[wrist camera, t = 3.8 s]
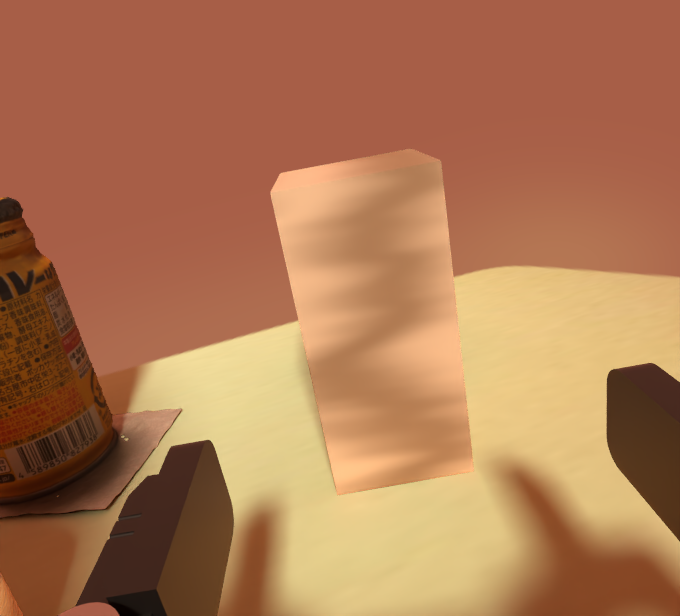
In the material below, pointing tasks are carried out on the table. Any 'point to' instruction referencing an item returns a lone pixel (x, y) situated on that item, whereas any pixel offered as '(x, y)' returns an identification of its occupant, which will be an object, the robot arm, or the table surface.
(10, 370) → the condiment
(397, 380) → the maple block
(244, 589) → the table surface
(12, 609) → the metal cylinder
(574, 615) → the table surface
